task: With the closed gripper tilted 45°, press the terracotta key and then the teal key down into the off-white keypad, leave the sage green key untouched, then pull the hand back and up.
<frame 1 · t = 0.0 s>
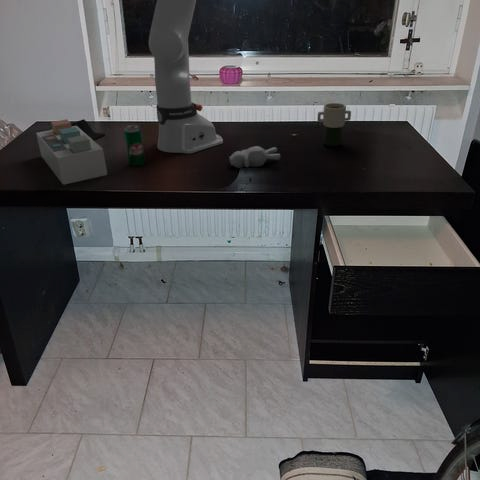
soda can: (137, 164, 154), on the table
sage green key: (79, 146, 143), point 9 cm above the table, slide at 0.0 cm
teal key: (70, 137, 151), point 9 cm above the table, slide at 0.0 cm
keypad: (72, 165, 154), on the table
bunny figurine: (254, 165, 152), on the table
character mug: (332, 145, 165), on the table
handheld gaming console: (85, 139, 177), on the table
terracotta key: (62, 129, 158), point 9 cm above the table, slide at 0.0 cm
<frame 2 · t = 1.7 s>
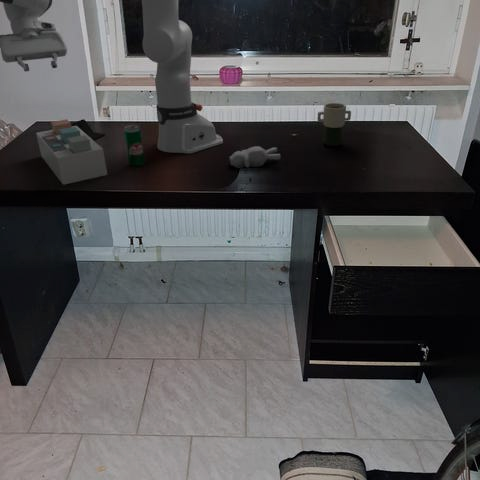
hand: (41, 68, 160), 26 cm above the table, tool tilted 45°, fingers open, 7 cm apart
nothing on the table moved.
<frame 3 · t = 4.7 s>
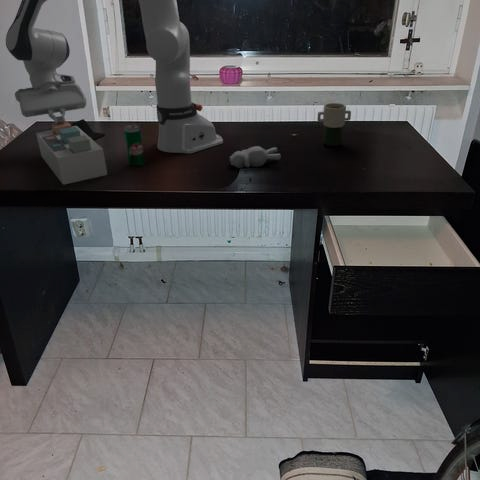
hand: (60, 122, 157), 11 cm above the table, tool tilted 45°, fingers closed, pressing on terracotta key
terracotta key: (62, 131, 158), point 8 cm above the table, slide at 0.7 cm, touching gripper
everything else where it was.
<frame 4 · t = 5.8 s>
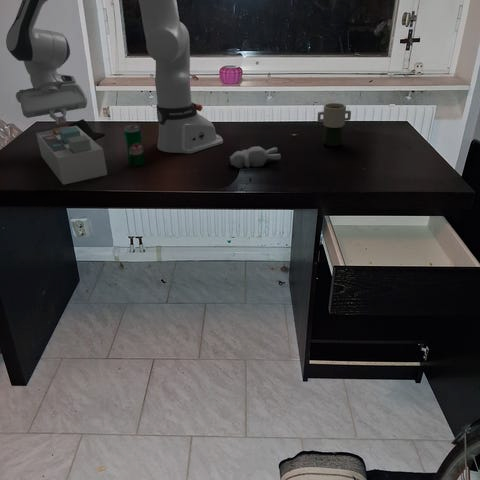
hand: (61, 122, 157), 11 cm above the table, tool tilted 45°, fingers closed
terracotta key: (63, 136, 159), point 7 cm above the table, slide at 2.2 cm
everything else where it was.
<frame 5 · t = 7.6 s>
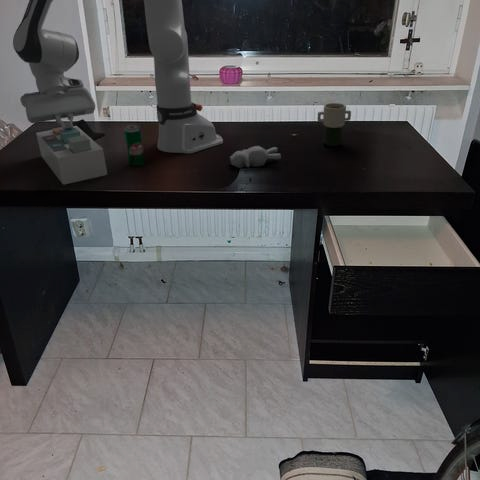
hand: (68, 128, 149), 11 cm above the table, tool tilted 45°, fingers closed, pressing on teal key
teal key: (70, 138, 151), point 9 cm above the table, slide at 0.2 cm, touching gripper
everything else where it was.
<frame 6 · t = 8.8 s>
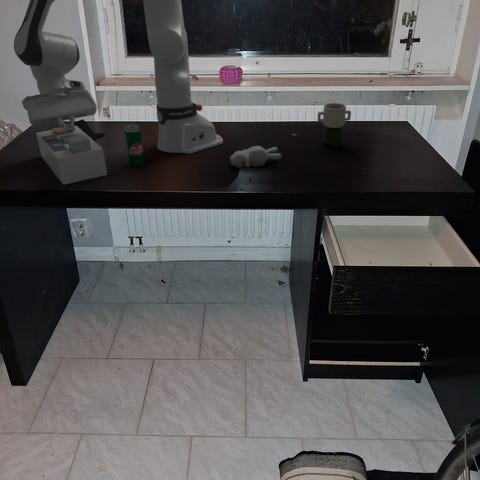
hand: (70, 130, 150), 11 cm above the table, tool tilted 45°, fingers closed
teal key: (72, 144, 152), point 7 cm above the table, slide at 2.2 cm
everything else where it was.
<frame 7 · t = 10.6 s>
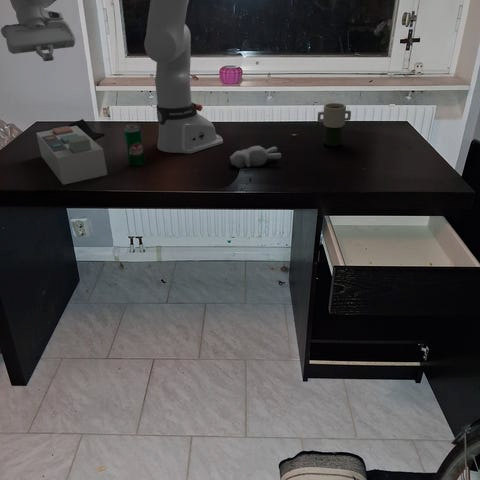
hand: (48, 59, 152), 29 cm above the table, tool tilted 45°, fingers closed
nothing on the table moved.
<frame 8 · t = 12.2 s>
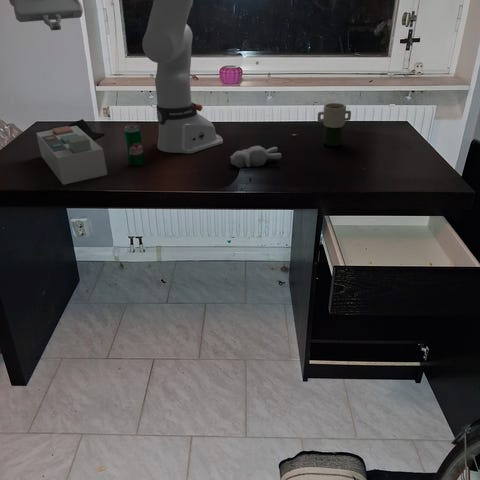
hand: (56, 28, 153), 37 cm above the table, tool tilted 45°, fingers closed
nothing on the table moved.
at the end: terracotta key slide at 2.2 cm; teal key slide at 2.2 cm; sage green key slide at 0.0 cm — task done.
